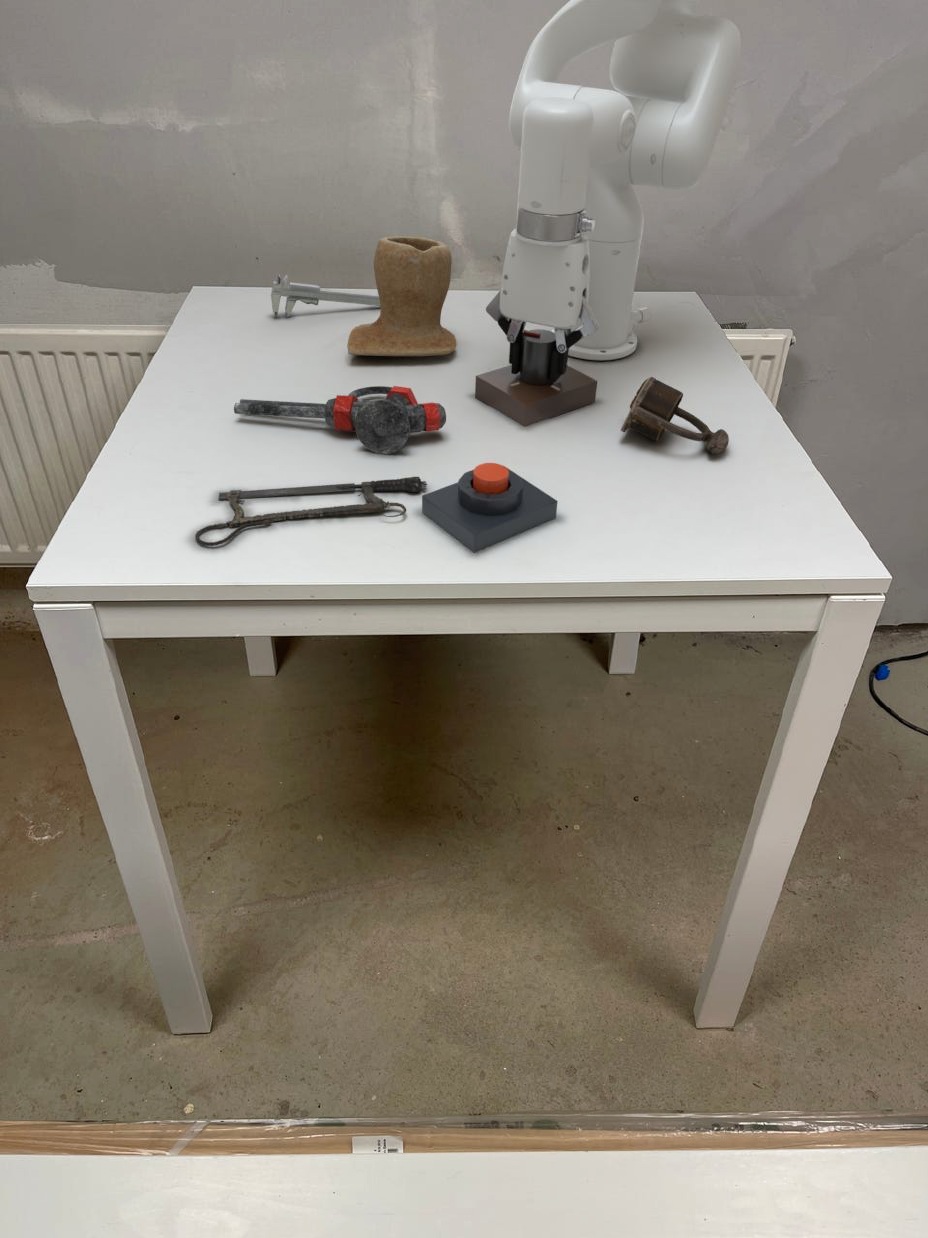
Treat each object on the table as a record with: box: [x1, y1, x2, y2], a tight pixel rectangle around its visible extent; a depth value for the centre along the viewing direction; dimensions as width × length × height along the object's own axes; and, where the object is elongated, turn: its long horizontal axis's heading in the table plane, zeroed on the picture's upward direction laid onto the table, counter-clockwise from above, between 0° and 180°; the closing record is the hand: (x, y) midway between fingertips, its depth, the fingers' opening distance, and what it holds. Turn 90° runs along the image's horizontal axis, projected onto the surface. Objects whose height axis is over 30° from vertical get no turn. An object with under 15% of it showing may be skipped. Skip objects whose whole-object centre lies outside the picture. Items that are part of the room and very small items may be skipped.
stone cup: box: [346, 235, 458, 357], centre depth 123 cm, size 15×12×15 cm
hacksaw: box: [194, 476, 428, 547], centre depth 94 cm, size 24×10×2 cm, turn 97°
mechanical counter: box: [620, 376, 730, 455], centre depth 106 cm, size 7×13×10 cm
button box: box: [421, 465, 558, 554], centre depth 94 cm, size 11×9×4 cm
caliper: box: [270, 273, 380, 319], centre depth 136 cm, size 20×1×6 cm, turn 109°
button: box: [473, 462, 509, 494], centre depth 92 cm, size 4×4×2 cm
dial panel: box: [474, 364, 598, 427], centre depth 115 cm, size 12×10×3 cm
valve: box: [233, 385, 447, 455], centre depth 109 cm, size 6×26×15 cm
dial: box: [519, 328, 556, 385], centre depth 112 cm, size 4×4×6 cm
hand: (537, 372), depth 114 cm, fingers closed on dial, 4 cm apart
